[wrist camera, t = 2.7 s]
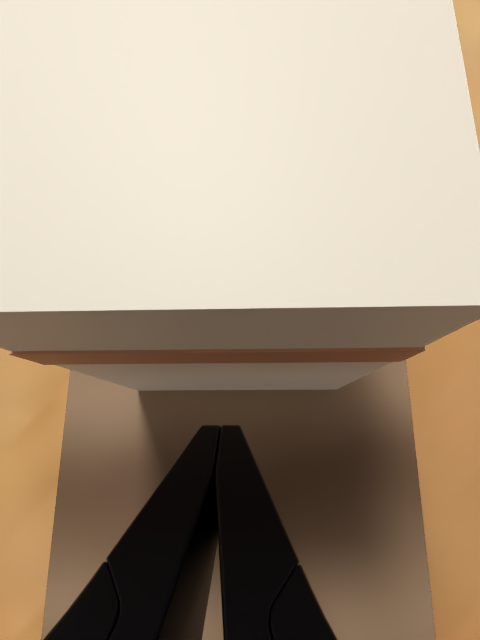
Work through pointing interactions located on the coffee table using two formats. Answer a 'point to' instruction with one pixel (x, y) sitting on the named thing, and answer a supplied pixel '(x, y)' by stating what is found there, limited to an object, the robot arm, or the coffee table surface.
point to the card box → (234, 189)
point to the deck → (282, 482)
